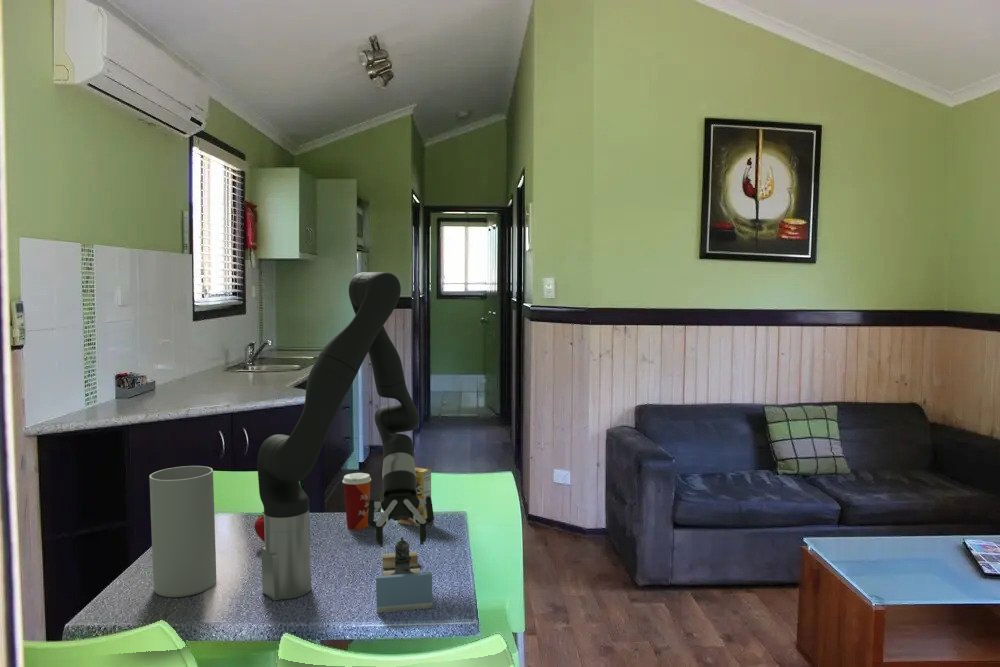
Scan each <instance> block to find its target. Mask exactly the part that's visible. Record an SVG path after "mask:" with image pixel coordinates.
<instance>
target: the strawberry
mask: <svg viewBox="0 0 1000 667" xmlns="http://www.w3.org/2000/svg"><path fill="white" fill-rule="evenodd" d="M261 513H262V514H261V515H258V516H257V517H258V518H257V519H256V520H255V522H254V530H255V534H256V535H257V537H259V538H260V539H261V540H262V542H264V543H265V530H264V511H261Z"/></svg>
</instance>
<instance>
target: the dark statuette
mask: <svg viewBox="0 0 1000 667" xmlns="http://www.w3.org/2000/svg"><path fill="white" fill-rule="evenodd" d="M394 548H395V549H394V551H395V552H394V553H395V558H394V561H395V569H394V570H395V572H394V573H393V574H391V575H398V574H411V573H413V572H411V570H410V569H411V567H410V560H411V557H410V556H409V552H410V543H409V542H408V541H406V540H404V537H403V536H401V537H400V540H399V541H397V542H396V543H395V546H394Z"/></svg>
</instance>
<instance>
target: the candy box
mask: <svg viewBox="0 0 1000 667" xmlns="http://www.w3.org/2000/svg"><path fill="white" fill-rule="evenodd" d="M415 471H416V489H417V497H418V499H426V497H428V496H430V497H431V498H432V469H431V468H425V467H417V466H415ZM417 510H418V511H419V513H420V515H421V516H422V517H423V518H424V519H426V518H427V512H426V509H423V507H422V506H421V505H419V507H418V508H417ZM396 522H397V524H398V523H399V524H404V525H409V526H413V525H414V527H418V525H417V524H416V523H414V522H413V521H412V519H411V518H409V519H408V520H397V521H396Z"/></svg>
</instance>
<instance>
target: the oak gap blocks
mask: <svg viewBox="0 0 1000 667" xmlns="http://www.w3.org/2000/svg"><path fill="white" fill-rule="evenodd" d="M381 556H382V559H381V560H382V570H383V569H394V568H395V561H394V558H395V552H393V553H392V552H391V553H382V554H381ZM409 556H410V557H411V560H410V570H411V572H413V573H422V572H421V568H419V567H418V566H419V564H418V563H419V562H418V561H419V560H418V551H409ZM411 567H418V568H411ZM394 572H395V569H394V570H383V571H382V575H391V574H393V573H394Z"/></svg>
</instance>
